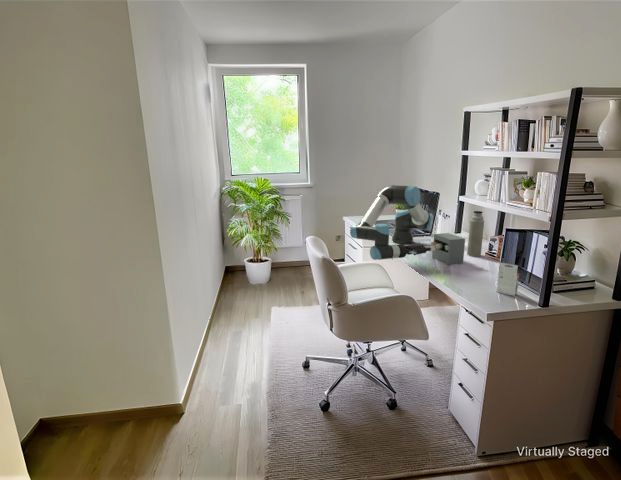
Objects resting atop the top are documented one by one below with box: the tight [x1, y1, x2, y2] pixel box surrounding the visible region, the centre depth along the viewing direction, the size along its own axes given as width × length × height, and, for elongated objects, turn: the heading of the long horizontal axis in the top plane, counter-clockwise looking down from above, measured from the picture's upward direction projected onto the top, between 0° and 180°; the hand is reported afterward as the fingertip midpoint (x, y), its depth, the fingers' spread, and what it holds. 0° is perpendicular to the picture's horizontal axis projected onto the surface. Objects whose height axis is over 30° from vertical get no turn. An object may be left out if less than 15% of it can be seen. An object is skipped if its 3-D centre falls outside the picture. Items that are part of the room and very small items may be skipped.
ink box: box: [495, 261, 520, 297], centre depth 169 cm, size 4×8×15 cm, turn 47°
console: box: [431, 232, 466, 266], centre depth 221 cm, size 16×10×15 cm, turn 15°
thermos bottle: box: [466, 210, 485, 258], centre depth 231 cm, size 8×8×28 cm
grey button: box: [435, 243, 445, 249], centre depth 220 cm, size 3×5×3 cm, turn 105°
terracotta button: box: [430, 241, 440, 246], centre depth 224 cm, size 3×5×3 cm, turn 105°
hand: (434, 248), depth 213 cm, fingers closed
